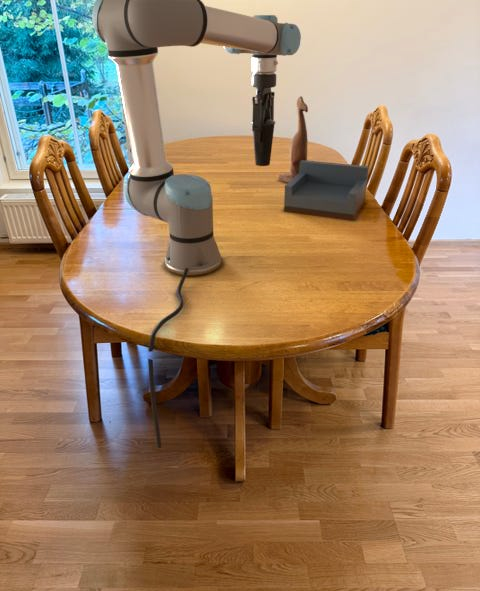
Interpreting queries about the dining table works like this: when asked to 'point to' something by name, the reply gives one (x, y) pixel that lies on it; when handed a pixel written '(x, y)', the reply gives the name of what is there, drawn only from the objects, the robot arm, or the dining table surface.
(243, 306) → the dining table surface
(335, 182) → the sofa
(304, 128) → the bird sculpture
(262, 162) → the drinking cup
